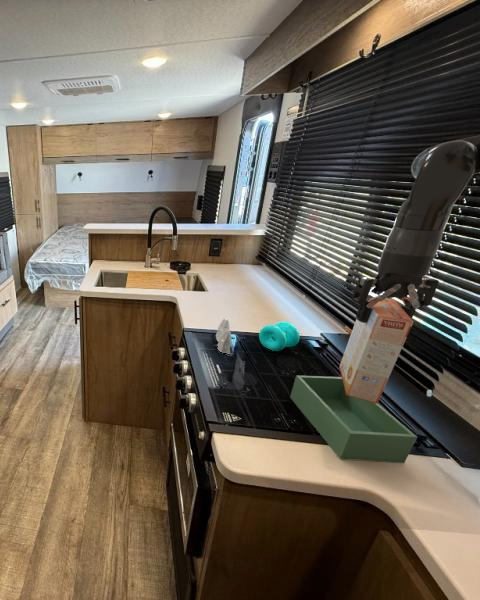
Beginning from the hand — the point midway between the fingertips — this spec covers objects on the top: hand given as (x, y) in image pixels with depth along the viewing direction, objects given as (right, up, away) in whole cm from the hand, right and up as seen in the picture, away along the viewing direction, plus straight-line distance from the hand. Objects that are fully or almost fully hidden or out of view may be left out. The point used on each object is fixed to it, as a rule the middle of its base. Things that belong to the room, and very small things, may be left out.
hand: (381, 321), depth 69 cm
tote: (0, -28, +11) cm, 30 cm away
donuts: (+7, -14, +48) cm, 50 cm away
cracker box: (0, -16, +6) cm, 17 cm away
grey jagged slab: (-27, +2, +88) cm, 92 cm away
